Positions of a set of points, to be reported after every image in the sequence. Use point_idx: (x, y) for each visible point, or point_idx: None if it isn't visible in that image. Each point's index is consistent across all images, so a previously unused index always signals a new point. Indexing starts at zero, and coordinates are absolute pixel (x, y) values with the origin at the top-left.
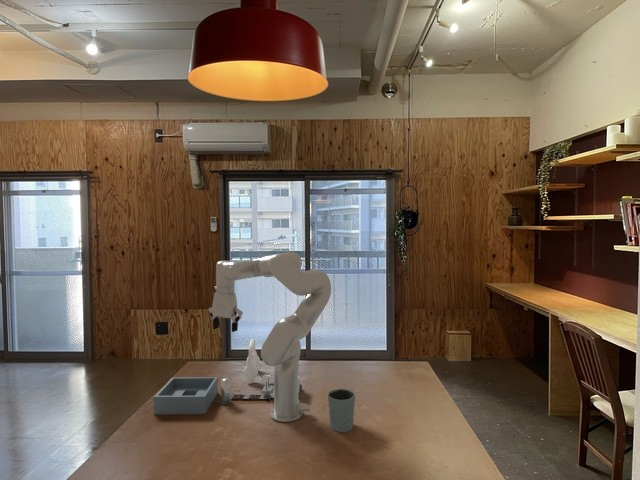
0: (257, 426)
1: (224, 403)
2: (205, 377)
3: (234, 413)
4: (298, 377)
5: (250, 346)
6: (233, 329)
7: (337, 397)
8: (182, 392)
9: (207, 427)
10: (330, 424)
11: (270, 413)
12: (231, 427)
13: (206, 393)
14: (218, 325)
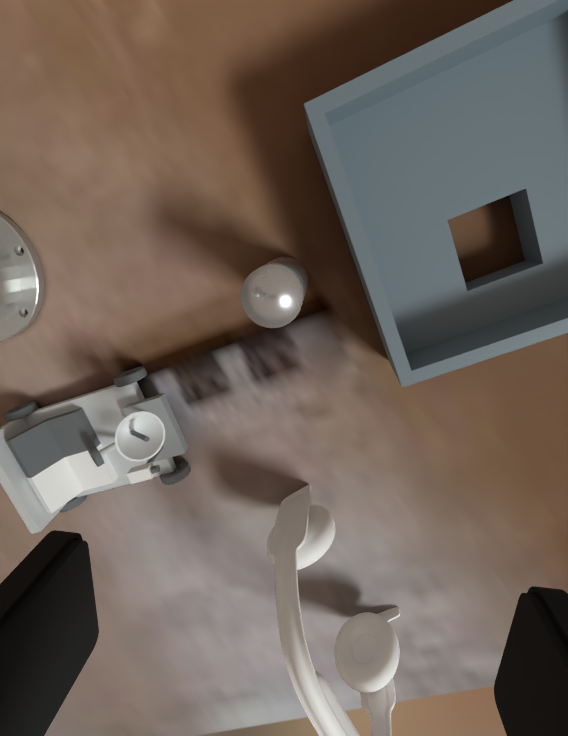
0: (14, 124)
1: (278, 257)
2: (473, 361)
3: (182, 196)
4: (23, 513)
5: (302, 673)
6: (26, 574)
7: None
8: (544, 230)
9: (209, 5)
10: None
11: (17, 234)
12: (107, 61)
13: (323, 149)
14: (513, 728)
